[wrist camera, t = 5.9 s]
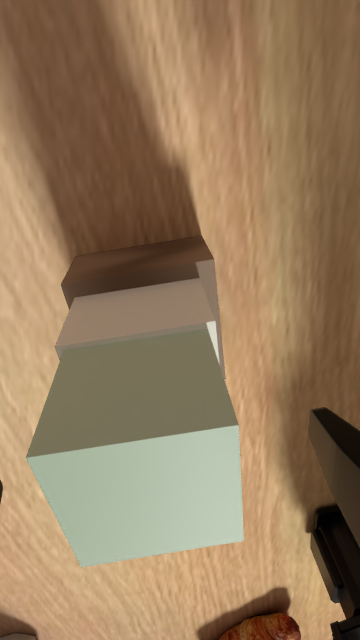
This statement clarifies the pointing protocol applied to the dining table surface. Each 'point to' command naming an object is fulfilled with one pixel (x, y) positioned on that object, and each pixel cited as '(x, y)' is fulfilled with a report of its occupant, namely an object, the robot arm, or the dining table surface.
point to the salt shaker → (18, 637)
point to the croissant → (265, 629)
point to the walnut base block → (146, 272)
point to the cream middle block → (137, 315)
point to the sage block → (140, 449)
